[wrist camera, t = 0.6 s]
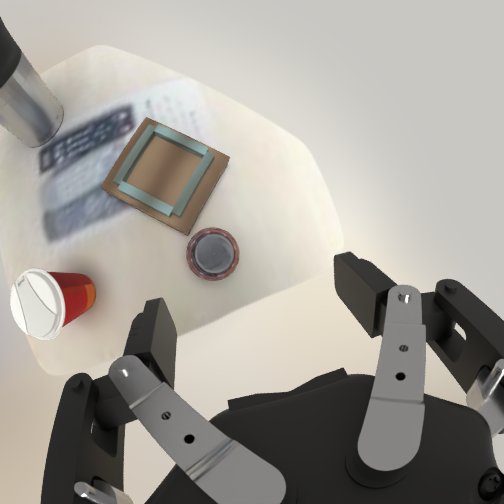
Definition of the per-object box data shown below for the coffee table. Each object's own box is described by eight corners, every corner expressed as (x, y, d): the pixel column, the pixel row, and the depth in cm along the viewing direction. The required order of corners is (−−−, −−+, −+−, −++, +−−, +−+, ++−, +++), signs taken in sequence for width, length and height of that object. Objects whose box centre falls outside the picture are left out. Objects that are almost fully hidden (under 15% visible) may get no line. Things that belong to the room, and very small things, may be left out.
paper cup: (51, 281, 33) (-2, 289, 20) (87, 256, 35) (39, 254, 21) (75, 327, 34) (29, 354, 20) (111, 304, 35) (73, 325, 22)
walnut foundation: (107, 192, 36) (97, 184, 31) (148, 126, 37) (144, 112, 33) (187, 235, 38) (186, 232, 34) (227, 164, 39) (231, 153, 35)
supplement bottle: (207, 225, 39) (211, 211, 28) (239, 252, 39) (256, 249, 28) (179, 258, 38) (173, 256, 27) (212, 285, 39) (219, 295, 27)
